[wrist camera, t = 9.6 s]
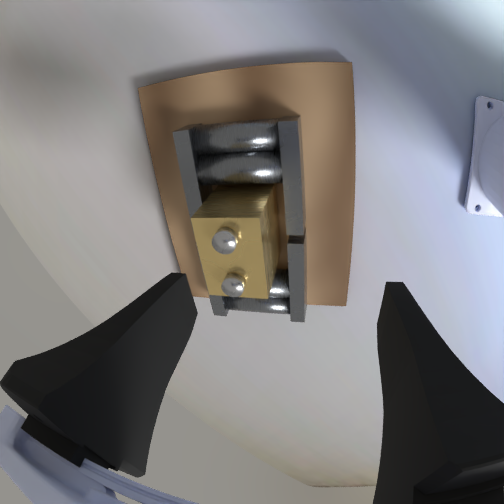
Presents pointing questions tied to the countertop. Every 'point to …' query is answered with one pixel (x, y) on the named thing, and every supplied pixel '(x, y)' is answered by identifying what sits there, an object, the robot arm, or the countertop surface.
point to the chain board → (315, 175)
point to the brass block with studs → (239, 239)
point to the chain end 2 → (276, 288)
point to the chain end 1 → (244, 161)
